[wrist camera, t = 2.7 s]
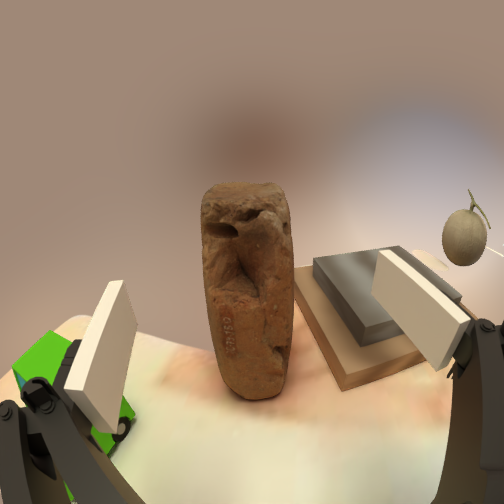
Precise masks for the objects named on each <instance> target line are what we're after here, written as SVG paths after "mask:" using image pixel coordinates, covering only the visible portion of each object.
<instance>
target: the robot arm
mask: <svg viewBox="0 0 504 504" xmlns="http://www.w3.org/2000/svg"><path fill="white" fill-rule="evenodd" d="M371 294H372V296H373V297H374V298H375V299H376V300H377V301H378V302H379V303H380V305H381V306H382V307H383V308H384V309H385V310H386V311H387V313H388V314H389V315H390V316H391V317H392V318H393V320H394V321H395V322H396V323H397V324H398V325H399V327H400V328H401V329H402V330H403V331H404V333H405V334H406V335H407V336H408V337H409V339H410V340H411V341H412V342H413V343H414V345H415V346H416V347H417V348H418V350H419V351H420V352H421V353H422V355H423V356H424V357H425V358H426V360H427V361H428V362H429V363H430V365H431V366H432V367H433V368H434V370H435V371H436V372H437V371H439V370H441V369H443V368H444V367H446V366H447V365H448V364H449V362H450V360H451V358H452V356H453V358H454V359H455V360H456V361H455V363H454V364H453V366H452V368H451V370H450V371H449V373H448V375H447V378H449V377H450V375H451V374H452V373H453V376H452V378H451V379H453V393H452V409H451V420H450V429H449V436H448V443H447V450H446V455H445V461H444V466H443V471H442V475H441V480H440V484H439V488H438V491H437V494H436V497H435V498H434V500H433V501H432V502H431V504H504V321H503V323H502V325H497V326H495V325H494V324H493V323H492V322H491V321H489V320H486V319H477V320H475V319H474V318H473V317H472V316H471V315H470V314H469V313H468V312H467V311H466V310H465V309H464V308H462V307H461V306H460V305H459V304H457V302H456V301H455V300H452V298H451V297H450V296H449V295H448V294H447V293H445V292H444V291H442V290H440V289H438V288H436V287H435V286H434V285H433V284H431V283H430V282H429V281H428V280H427V279H426V278H424V277H423V276H422V275H421V274H420V273H418V272H417V271H416V270H415V269H413V268H412V267H411V266H410V265H408V264H407V263H406V262H405V261H404V260H402V259H401V258H400V257H398V256H397V255H396V254H395V253H393V252H392V251H391V250H382V251H378V257H377V263H376V269H375V274H374V280H373V285H372V290H371ZM137 326H138V323H137V320H136V318H135V315H134V312H133V309H132V306H131V302H130V299H129V296H128V293H127V289H126V286H125V283H124V280H119V281H110V282H109V284H108V286H107V288H106V290H105V292H104V294H103V296H102V298H101V300H100V302H99V304H98V306H97V308H96V311H95V313H94V315H93V317H92V319H91V321H90V324H89V326H88V328H87V330H86V333H85V335H84V337H83V340H74V341H73V342H72V343H71V345H70V346H69V347H68V348H67V350H66V353H65V355H64V359H62V362H61V366H60V367H59V369H58V372H57V374H56V377H55V379H54V382H53V384H52V386H51V384H50V383H49V382H48V380H47V379H46V378H44V377H34V378H31V379H30V380H28V381H27V382H26V383H25V384H24V386H23V387H22V390H21V393H20V394H21V399H22V401H23V402H24V403H25V404H26V405H27V406H28V407H23V408H19V406H18V405H17V404H16V403H15V402H14V401H12V400H5V401H3V402H1V403H0V489H1V494H2V499H3V504H71V502H70V499H69V496H68V493H67V490H66V487H65V484H64V482H65V483H66V485H67V487H68V489H69V490H70V492H71V494H72V495H73V497H74V499H75V500H76V502H77V503H78V504H146V503H145V502H144V501H143V500H142V499H141V498H140V497H139V496H138V494H137V493H136V492H135V491H134V490H133V489H132V487H131V486H130V485H129V484H128V483H127V481H126V480H125V479H124V478H123V476H122V475H121V474H120V473H119V471H118V470H117V469H116V467H115V466H114V465H113V463H112V462H111V461H110V459H109V458H108V456H107V455H106V454H105V452H104V451H103V449H102V448H101V446H100V445H99V443H98V442H97V440H96V439H95V437H94V436H93V435H92V434H91V429H92V425H93V426H94V427H95V428H96V429H97V430H98V432H102V433H113V434H117V426H118V420H119V413H120V407H121V401H122V396H123V390H124V385H125V380H126V375H127V370H128V365H129V360H130V356H131V351H132V347H133V343H134V339H135V334H136V330H137Z"/></svg>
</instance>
